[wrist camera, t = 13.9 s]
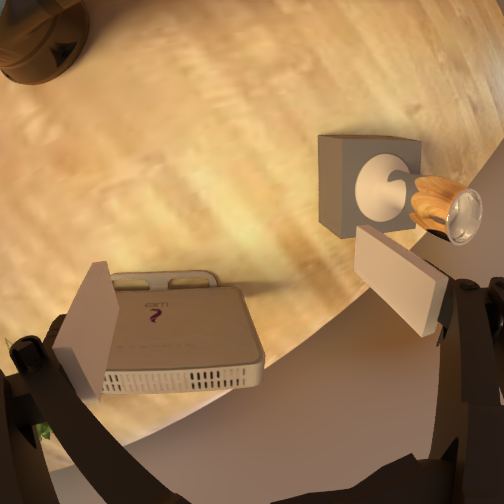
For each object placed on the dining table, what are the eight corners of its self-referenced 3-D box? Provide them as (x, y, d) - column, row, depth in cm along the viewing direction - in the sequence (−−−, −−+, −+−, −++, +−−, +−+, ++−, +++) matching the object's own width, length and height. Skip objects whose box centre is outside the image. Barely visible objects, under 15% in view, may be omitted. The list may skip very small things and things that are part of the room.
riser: (317, 135, 46) (343, 139, 38) (391, 136, 48) (422, 141, 41) (318, 221, 52) (342, 240, 44) (388, 213, 54) (416, 229, 46)
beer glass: (370, 165, 41) (447, 191, 27) (409, 160, 41) (485, 183, 28) (373, 213, 43) (443, 254, 30) (409, 205, 44) (480, 240, 31)
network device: (237, 268, 52) (270, 347, 34) (236, 313, 55) (264, 399, 37) (82, 274, 46) (42, 354, 28) (91, 319, 50) (65, 405, 32)
